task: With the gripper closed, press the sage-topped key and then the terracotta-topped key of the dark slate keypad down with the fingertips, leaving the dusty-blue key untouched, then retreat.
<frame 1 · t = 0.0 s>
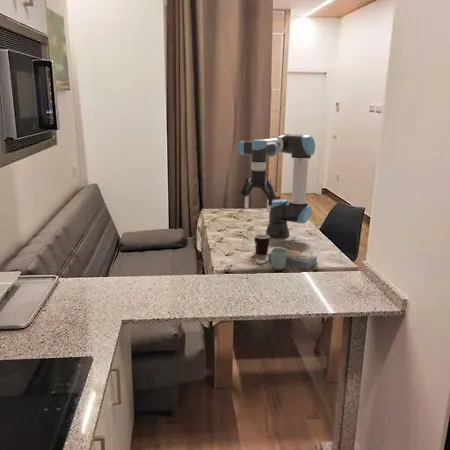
hand: (257, 209, 239), 28 cm above the table, fingers open, 13 cm apart
prompt tile: (260, 262, 241), on the table
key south: (280, 252, 245), point 4 cm above the table, slide at 0.0 cm
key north: (305, 257, 237), point 4 cm above the table, slide at 0.0 cm
coffee mug: (261, 252, 258), on the table
cup: (278, 268, 233), on the table
key mid: (292, 255, 241), point 4 cm above the table, slide at 0.0 cm
keypad: (292, 262, 242), on the table
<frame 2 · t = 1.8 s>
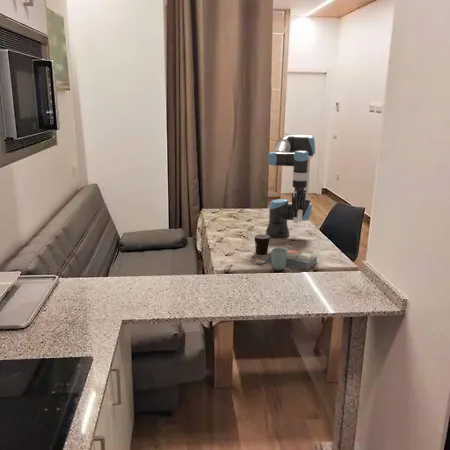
hand: (297, 221, 248), 20 cm above the table, fingers open, 4 cm apart
nothing on the table moved.
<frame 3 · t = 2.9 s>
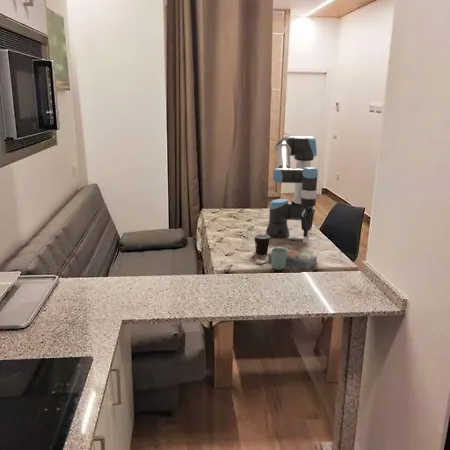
hand: (305, 242, 235), 13 cm above the table, fingers closed
nothing on the table moved.
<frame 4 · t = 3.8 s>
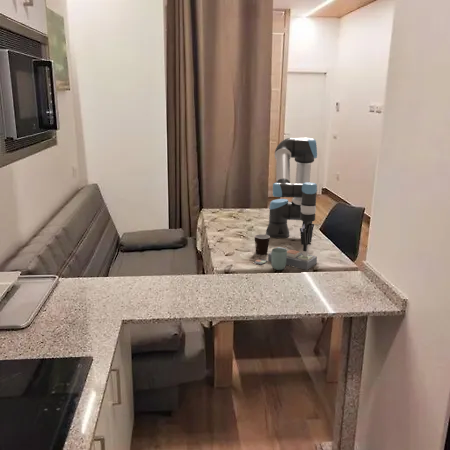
hand: (305, 256, 237), 5 cm above the table, fingers closed
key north: (305, 260, 237), point 3 cm above the table, slide at 1.3 cm, touching gripper
everything else where it was.
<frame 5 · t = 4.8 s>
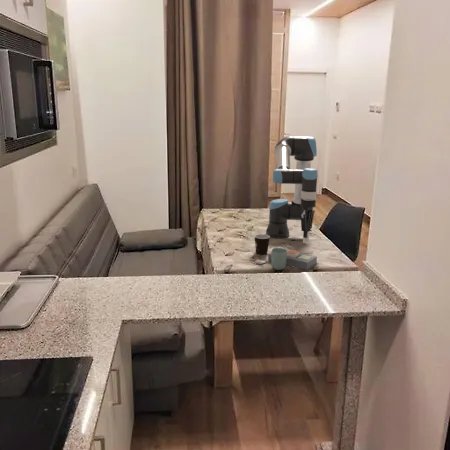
hand: (305, 243, 235), 12 cm above the table, fingers closed
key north: (305, 260, 237), point 3 cm above the table, slide at 1.5 cm
everything else where it was.
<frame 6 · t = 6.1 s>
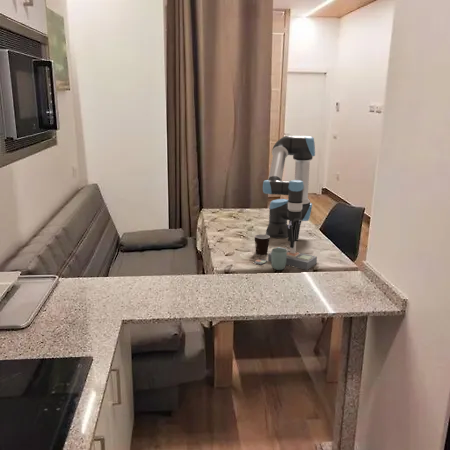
hand: (292, 252, 241), 5 cm above the table, fingers closed
key mid: (292, 256, 241), point 3 cm above the table, slide at 0.9 cm, touching gripper
everything else where it was.
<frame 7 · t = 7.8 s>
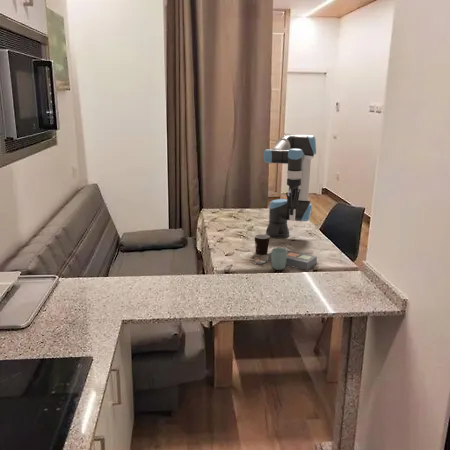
hand: (292, 220, 247), 21 cm above the table, fingers closed
key mid: (292, 257, 242), point 3 cm above the table, slide at 1.5 cm
everything else where it was.
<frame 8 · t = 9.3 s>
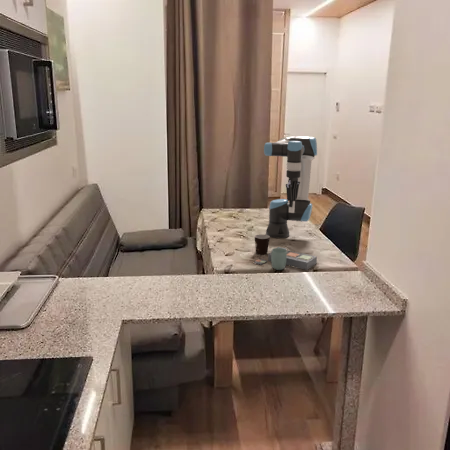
hand: (291, 212, 249), 24 cm above the table, fingers closed
nothing on the table moved.
at the end: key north slide at 1.5 cm; key mid slide at 1.5 cm; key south slide at 0.0 cm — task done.
